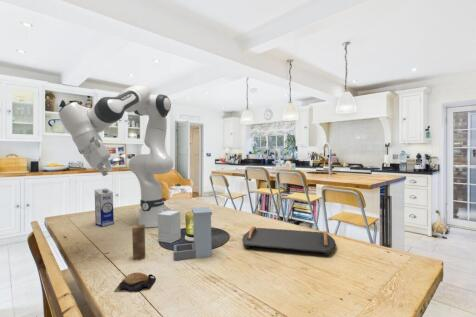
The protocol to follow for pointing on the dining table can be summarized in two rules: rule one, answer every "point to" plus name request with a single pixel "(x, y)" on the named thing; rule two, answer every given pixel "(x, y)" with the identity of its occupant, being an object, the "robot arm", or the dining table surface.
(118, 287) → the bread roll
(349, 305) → the dining table surface
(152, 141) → the robot arm
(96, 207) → the milk carton
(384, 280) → the dining table surface
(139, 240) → the walnut block
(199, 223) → the pale blue tower
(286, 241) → the serving board
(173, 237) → the supplement box
